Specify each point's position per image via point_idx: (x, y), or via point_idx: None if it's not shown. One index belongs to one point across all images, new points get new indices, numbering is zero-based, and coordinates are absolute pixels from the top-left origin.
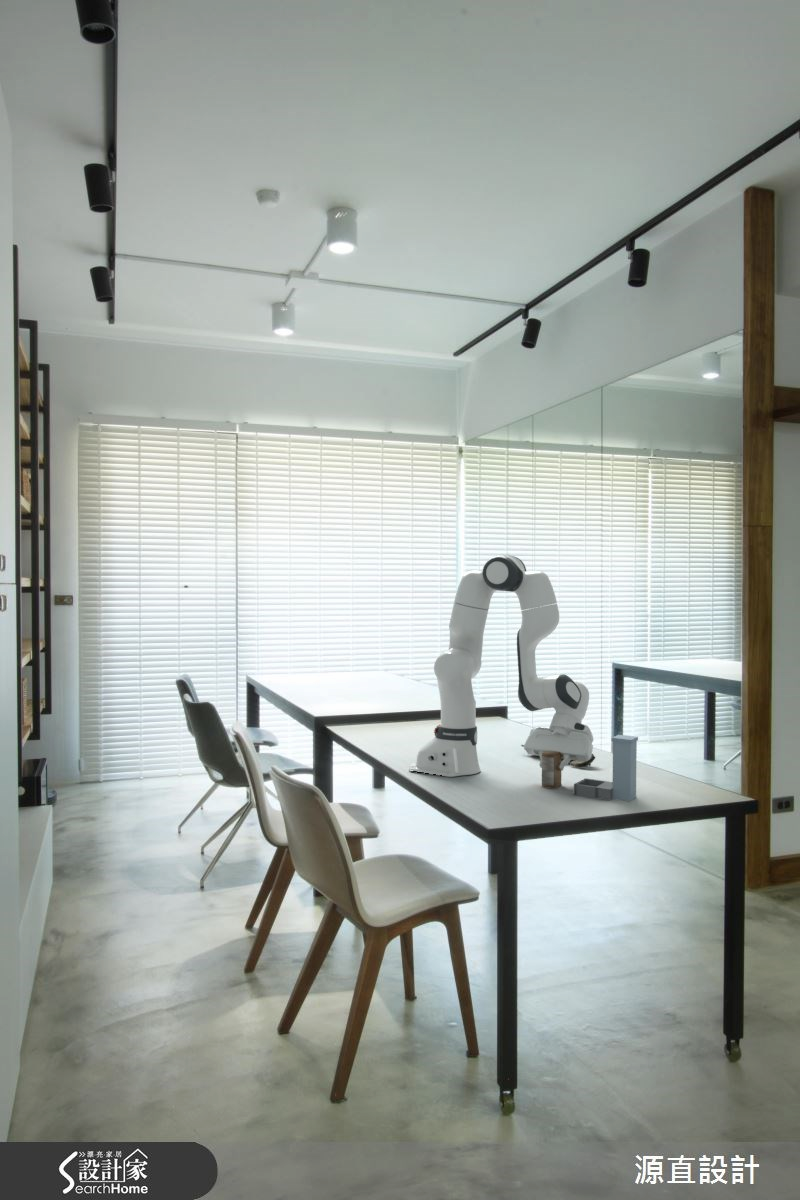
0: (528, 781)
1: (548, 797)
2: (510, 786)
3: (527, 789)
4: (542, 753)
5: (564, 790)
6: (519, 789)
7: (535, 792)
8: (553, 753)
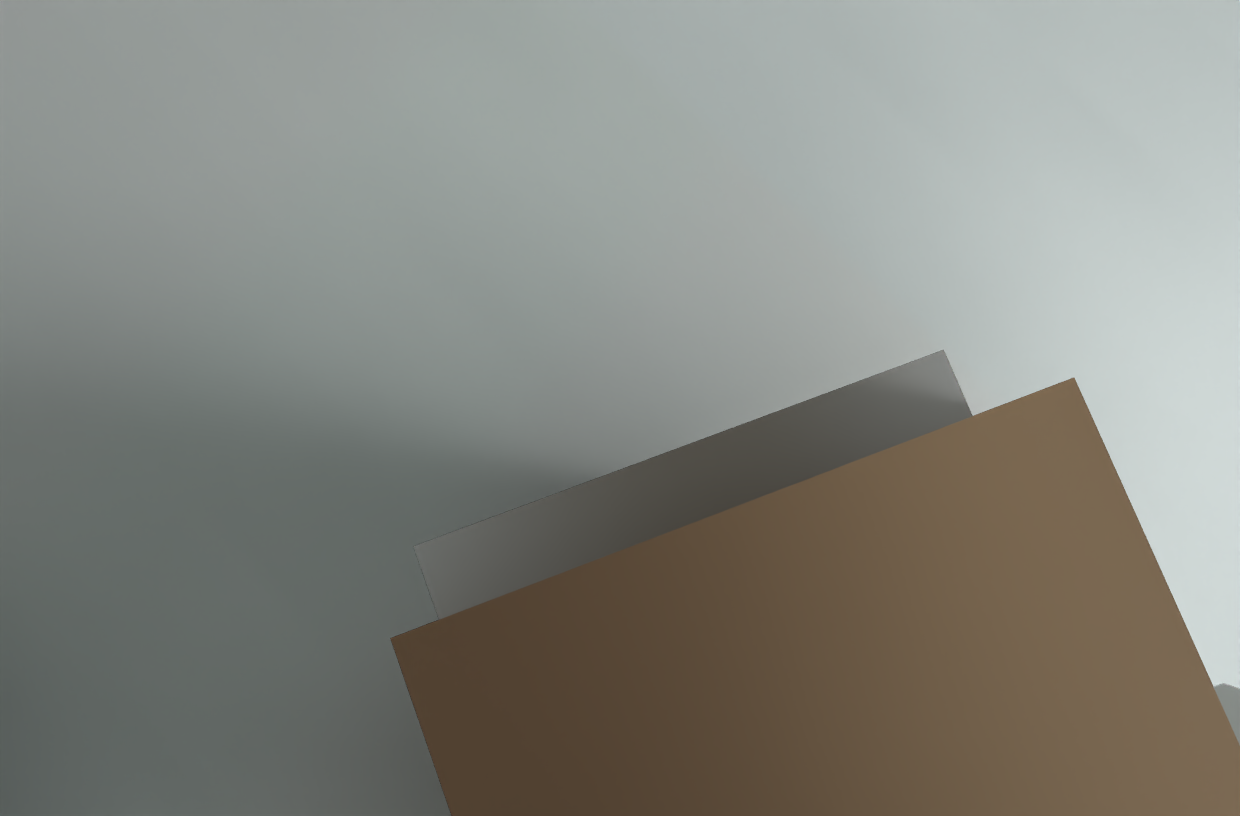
0: (1234, 638)
1: (68, 33)
2: (1088, 69)
3: (745, 155)
4: (1033, 393)
5: (239, 706)
6: (828, 41)
7: (489, 111)
8: (601, 757)
